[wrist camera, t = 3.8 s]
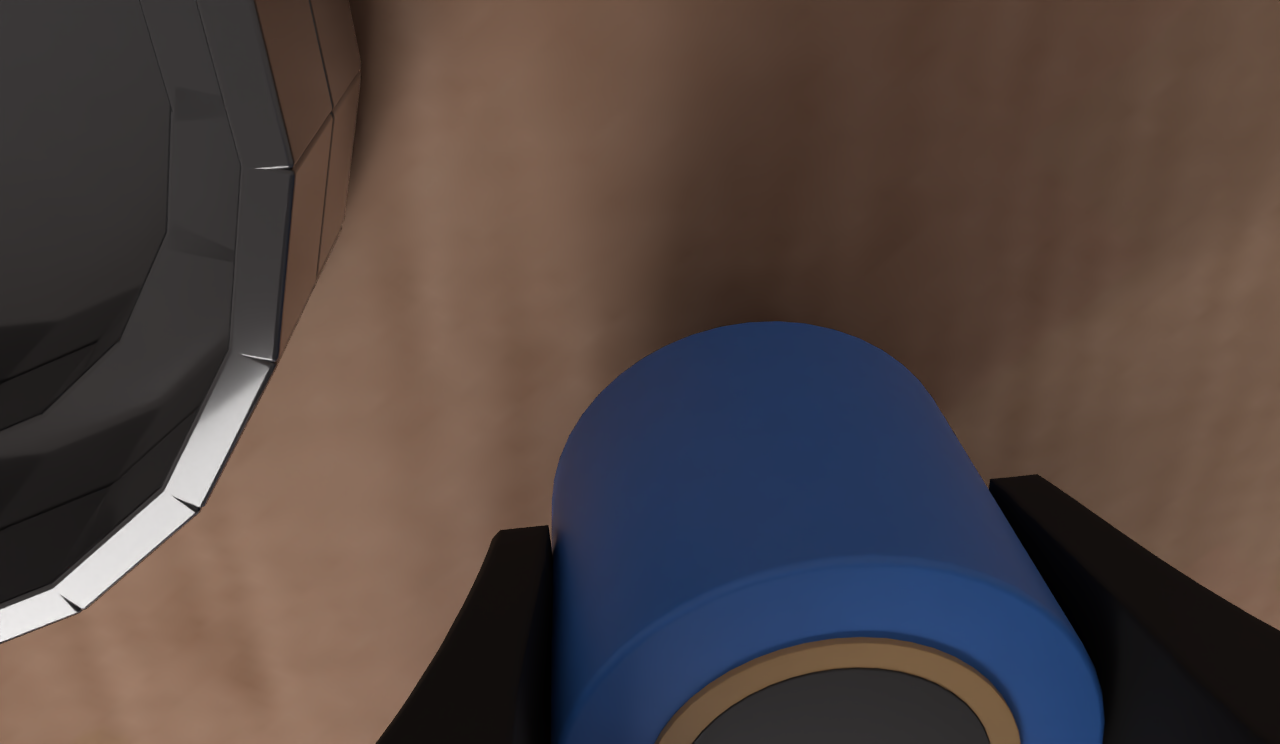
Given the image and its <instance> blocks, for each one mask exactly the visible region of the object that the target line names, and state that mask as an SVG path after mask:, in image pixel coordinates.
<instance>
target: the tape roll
mask: <svg viewBox="0 0 1280 744" xmlns="http://www.w3.org/2000/svg"><path fill="white" fill-rule="evenodd" d="M552 554H553V610H552V636H551V744H1103V735H1104V726H1105V717H1104V706H1103V694H1102V689H1101V686H1100V683H1099V679H1098V676H1097V672H1096V669H1095V666H1094V664H1093V662H1092V661H1091V659H1090V657H1089V655H1088V653H1087V651H1086V649H1085V647H1084V645H1083V643H1082V642H1081V640H1080V638H1079V637H1078V635H1077V634H1076V632H1075V630H1074V629H1073V627H1072V625H1071V624H1070V622H1069V620H1068V619H1067V617H1066V616H1065V614H1064V612H1063V611H1062V609H1061V607H1060V606H1059V604H1058V602H1057V601H1056V599H1055V598H1054V596H1053V594H1052V593H1051V591H1050V589H1049V588H1048V586H1047V584H1046V583H1045V581H1044V579H1043V578H1042V576H1041V575H1040V573H1039V571H1038V570H1037V568H1036V566H1035V565H1034V563H1033V561H1032V560H1031V558H1030V557H1029V555H1028V553H1027V552H1026V550H1025V548H1024V547H1023V545H1022V543H1021V542H1020V540H1019V539H1018V537H1017V535H1016V534H1015V532H1014V530H1013V529H1012V527H1011V525H1010V524H1009V522H1008V521H1007V519H1006V517H1005V516H1004V514H1003V512H1002V511H1001V509H1000V507H999V506H998V504H997V503H996V501H995V499H994V498H993V496H992V494H991V493H990V491H989V489H988V488H987V486H986V485H985V483H984V481H983V480H982V478H981V476H980V475H979V473H978V471H977V470H976V468H975V466H974V465H973V463H972V462H971V460H970V458H969V457H968V455H967V453H966V452H965V450H964V448H963V447H962V445H961V444H960V442H959V440H958V439H957V437H956V435H955V434H954V432H953V430H952V429H951V427H950V426H949V424H948V422H947V421H946V419H945V417H944V416H943V414H942V412H941V411H940V409H939V408H938V406H937V404H936V403H935V401H934V399H933V398H932V397H931V395H930V394H929V393H928V391H927V390H926V389H925V387H924V386H923V385H922V383H921V382H920V381H919V380H918V379H917V378H916V377H915V376H914V375H913V374H912V373H911V372H910V371H909V370H908V369H907V368H906V367H905V366H904V365H903V364H901V363H900V362H899V361H897V360H896V359H894V358H893V357H891V356H890V355H889V354H887V353H886V352H884V351H883V350H881V349H879V348H877V347H875V346H873V345H871V344H869V343H867V342H865V341H863V340H862V339H860V338H857V337H854V336H851V335H848V334H846V333H843V332H840V331H837V330H834V329H830V328H825V327H820V326H815V325H810V324H805V323H794V322H781V321H768V322H747V323H741V324H735V325H728V326H722V327H718V328H714V329H710V330H707V331H703V332H700V333H696V334H693V335H690V336H688V337H685V338H683V339H680V340H678V341H676V342H673V343H671V344H668V345H666V346H664V347H662V348H660V349H659V350H657V351H655V352H653V353H651V354H650V355H648V356H646V357H644V358H642V359H641V360H639V361H638V362H637V363H635V364H634V365H633V366H631V367H630V368H628V369H627V370H626V371H624V372H623V373H622V374H620V375H619V376H618V377H617V378H616V379H615V380H614V381H613V382H611V383H610V384H609V385H608V386H607V387H606V388H605V389H604V390H603V391H602V392H601V393H600V394H599V395H598V396H597V397H596V398H595V400H594V401H593V402H592V403H591V405H590V406H589V407H588V408H587V409H586V411H585V412H584V413H583V414H582V416H581V417H580V419H579V421H578V422H577V424H576V426H575V427H574V429H573V431H572V432H571V434H570V435H569V438H568V440H567V442H566V445H565V447H564V449H563V452H562V454H561V456H560V459H559V463H558V467H557V471H556V475H555V478H554V486H553V496H552Z"/></svg>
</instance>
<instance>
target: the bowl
mask: <svg viewBox="0 0 1280 744" xmlns="http://www.w3.org/2000/svg"><path fill="white" fill-rule="evenodd" d="M361 66H362V64H361V59H360V54H359V49H358V44H357V39H356V34H355V29H354V24H353V19H352V14H351V9H350V4H349V0H0V644H2V643H4V642H7V641H9V640H12V639H15V638H17V637H20V636H22V635H25V634H27V633H30V632H33V631H35V630H38V629H40V628H43V627H45V626H48V625H50V624H53V623H56V622H58V621H61V620H63V619H66V618H68V617H71V616H74V615H76V614H78V613H80V612H81V611H82V610H85V609H87V608H89V607H90V606H91V605H92V604H93V603H94V602H96V601H97V600H98V599H99V598H100V597H101V596H103V595H104V594H105V593H106V592H107V591H108V590H110V589H111V588H112V587H113V586H114V585H115V584H117V583H118V582H119V581H120V580H121V579H122V578H124V577H125V576H126V575H127V574H128V573H129V572H131V571H132V570H133V569H134V568H135V567H137V566H138V565H139V564H140V563H141V562H142V561H144V560H145V559H146V558H147V557H148V556H149V555H151V554H152V553H153V552H154V551H155V550H156V549H158V548H159V547H160V546H161V545H162V544H163V543H165V542H166V541H167V540H168V539H169V538H170V537H172V536H173V535H174V534H175V533H176V532H177V531H179V530H180V529H181V528H182V527H183V526H184V525H186V524H187V523H188V522H189V521H190V520H191V519H193V518H194V517H195V516H196V515H197V514H198V513H200V511H201V509H202V507H204V506H205V505H206V504H207V502H208V500H209V498H210V496H211V494H212V492H213V490H214V488H215V486H216V484H217V482H218V480H219V478H220V476H221V475H222V473H223V471H224V469H225V467H226V465H227V463H228V461H229V459H230V457H231V455H232V453H233V451H234V449H235V447H236V445H237V443H238V441H239V440H240V438H241V436H242V434H243V432H244V430H245V428H246V426H247V424H248V422H249V420H250V418H251V416H252V414H253V412H254V410H255V408H256V407H257V405H258V403H259V401H260V399H261V397H262V395H263V393H264V391H265V389H266V387H267V385H268V383H269V381H270V379H271V377H272V375H273V373H274V372H275V370H276V368H277V366H278V363H279V361H280V359H281V357H282V355H283V353H284V351H285V349H286V346H287V344H288V342H289V340H290V338H291V336H292V334H293V332H294V330H295V327H296V325H297V323H298V321H299V319H300V317H301V315H302V313H303V310H304V308H305V306H306V304H307V302H308V300H309V298H310V296H311V293H312V291H313V289H314V287H315V285H316V283H317V281H318V279H319V276H320V274H321V272H322V270H323V268H324V266H325V264H326V262H327V260H328V257H329V255H330V253H331V251H332V249H333V247H334V245H335V243H336V240H337V238H338V236H339V234H340V232H341V230H342V223H343V221H344V219H345V212H346V203H347V195H348V186H349V177H350V169H351V160H352V152H353V143H354V135H355V126H356V117H357V109H358V100H359V92H360V83H361V74H360V71H359V70H360V69H361Z"/></svg>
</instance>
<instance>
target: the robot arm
mask: <svg viewBox="0 0 1280 744" xmlns="http://www.w3.org/2000/svg"><path fill="white" fill-rule="evenodd" d="M989 491H990V493H991V494H992V496H993V498H994V499H995V501H996V503H997V504H998V506H999V507H1000V509H1001V511H1002V512H1003V514H1004V516H1005V517H1006V519H1007V521H1008V522H1009V524H1010V525H1011V527H1012V529H1013V530H1014V532H1015V534H1016V535H1017V537H1018V539H1019V540H1020V542H1021V543H1022V545H1023V547H1024V548H1025V550H1026V552H1027V553H1028V555H1029V557H1030V558H1031V560H1032V561H1033V563H1034V565H1035V566H1036V568H1037V570H1038V571H1039V573H1040V575H1041V576H1042V578H1043V579H1044V581H1045V583H1046V584H1047V586H1048V588H1049V589H1050V591H1051V593H1052V594H1053V596H1054V598H1055V599H1056V601H1057V602H1058V604H1059V606H1060V607H1061V609H1062V611H1063V612H1064V614H1065V616H1066V617H1067V619H1068V620H1069V622H1070V624H1071V625H1072V627H1073V629H1074V630H1075V632H1076V634H1077V635H1078V637H1079V638H1080V640H1081V642H1082V643H1083V645H1084V647H1085V649H1086V651H1087V653H1088V655H1089V657H1090V659H1091V661H1092V662H1093V664H1094V666H1095V669H1096V672H1097V676H1098V679H1099V683H1100V686H1101V689H1102V694H1103V706H1104V717H1105V726H1104V735H1103V744H1280V631H1279V630H1277V629H1275V628H1274V627H1272V626H1270V625H1268V624H1266V623H1265V622H1263V621H1261V620H1259V619H1257V618H1255V617H1254V616H1252V615H1250V614H1248V613H1247V612H1245V611H1243V610H1242V609H1240V608H1238V607H1237V606H1235V605H1233V604H1232V603H1230V602H1228V601H1227V600H1225V599H1223V598H1222V597H1220V596H1218V595H1217V594H1215V593H1213V592H1212V591H1210V590H1208V589H1207V588H1205V587H1203V586H1202V585H1200V584H1199V583H1197V582H1195V581H1194V580H1192V579H1191V578H1189V577H1187V576H1186V575H1184V574H1183V573H1181V572H1180V571H1178V570H1177V569H1175V568H1173V567H1172V566H1170V565H1169V564H1167V563H1166V562H1164V561H1163V560H1161V559H1160V558H1158V557H1157V556H1155V555H1154V554H1152V553H1151V552H1149V551H1148V550H1146V549H1145V548H1143V547H1142V546H1140V545H1139V544H1138V543H1136V542H1135V541H1133V540H1132V539H1130V538H1129V537H1127V536H1126V535H1124V534H1123V533H1122V532H1120V531H1119V530H1117V529H1116V528H1114V527H1113V526H1112V525H1110V524H1109V523H1107V522H1106V521H1104V520H1103V519H1102V518H1100V517H1099V516H1097V515H1096V514H1094V513H1093V512H1092V511H1090V510H1089V509H1087V508H1086V507H1085V506H1083V505H1082V504H1080V503H1079V502H1077V501H1076V500H1075V499H1073V498H1072V497H1070V496H1069V495H1068V494H1066V493H1065V492H1063V491H1062V490H1060V489H1059V488H1057V487H1056V486H1054V485H1053V484H1052V483H1050V482H1048V481H1047V480H1045V479H1044V478H1042V477H1041V476H1039V475H1038V474H1036V475H1026V476H1017V477H1007V478H998V479H990V484H989ZM552 610H553V554H552V547H551V540H550V534H549V527H548V525H545V526H536V527H526V528H516V529H507V530H500V531H499V532H498V533H497V534H496V535H495V536H494V537H493V539H492V541H491V544H490V547H489V550H488V552H487V555H486V557H485V559H484V562H483V564H482V566H481V569H480V571H479V573H478V575H477V578H476V580H475V582H474V584H473V586H472V588H471V590H470V592H469V594H468V596H467V598H466V600H465V602H464V604H463V606H462V608H461V610H460V612H459V614H458V615H457V617H456V619H455V621H454V623H453V625H452V626H451V628H450V630H449V632H448V634H447V636H446V637H445V639H444V641H443V643H442V645H441V646H440V648H439V650H438V652H437V653H436V655H435V657H434V658H433V660H432V661H431V663H430V664H429V666H428V668H427V669H426V671H425V672H424V674H423V675H422V677H421V679H420V680H419V682H418V683H417V685H416V687H415V688H414V690H413V691H412V693H411V694H410V696H409V698H408V699H407V701H406V702H405V704H404V705H403V706H402V708H401V709H400V711H399V712H398V714H397V715H396V716H395V718H394V719H393V721H392V722H391V723H390V725H389V726H388V728H387V729H386V730H385V732H384V733H383V734H382V736H381V737H380V738H379V740H378V741H377V742H376V744H551V636H552Z"/></svg>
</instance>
